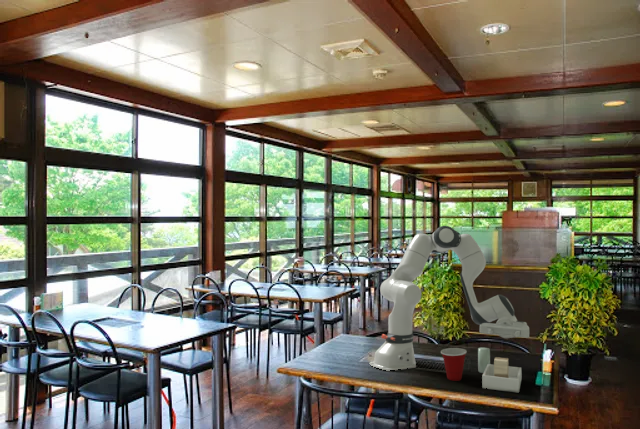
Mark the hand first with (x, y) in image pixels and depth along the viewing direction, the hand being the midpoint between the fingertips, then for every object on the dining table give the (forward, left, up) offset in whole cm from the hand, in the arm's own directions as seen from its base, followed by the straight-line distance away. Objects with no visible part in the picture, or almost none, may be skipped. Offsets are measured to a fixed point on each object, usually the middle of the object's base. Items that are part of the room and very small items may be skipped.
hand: (502, 333), depth 210 cm
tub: (-3, -2, -20) cm, 20 cm away
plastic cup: (-14, +14, -20) cm, 28 cm away
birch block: (-7, -4, -19) cm, 20 cm away
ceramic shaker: (+5, +13, -20) cm, 24 cm away
